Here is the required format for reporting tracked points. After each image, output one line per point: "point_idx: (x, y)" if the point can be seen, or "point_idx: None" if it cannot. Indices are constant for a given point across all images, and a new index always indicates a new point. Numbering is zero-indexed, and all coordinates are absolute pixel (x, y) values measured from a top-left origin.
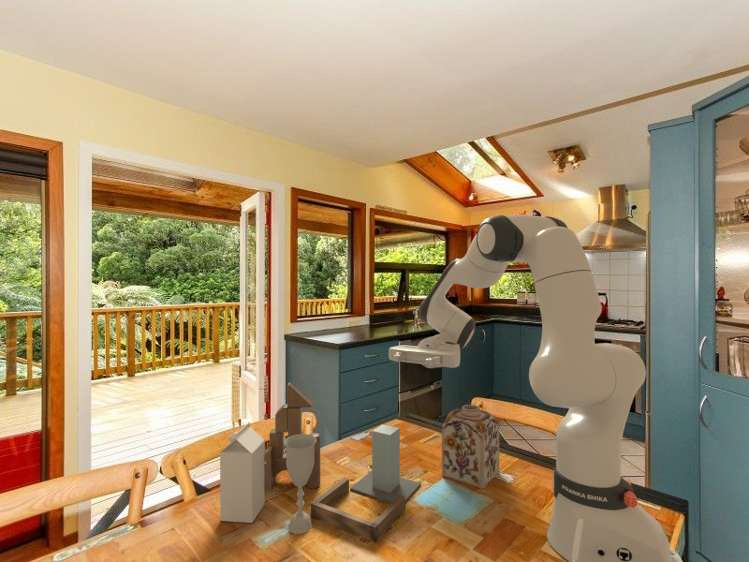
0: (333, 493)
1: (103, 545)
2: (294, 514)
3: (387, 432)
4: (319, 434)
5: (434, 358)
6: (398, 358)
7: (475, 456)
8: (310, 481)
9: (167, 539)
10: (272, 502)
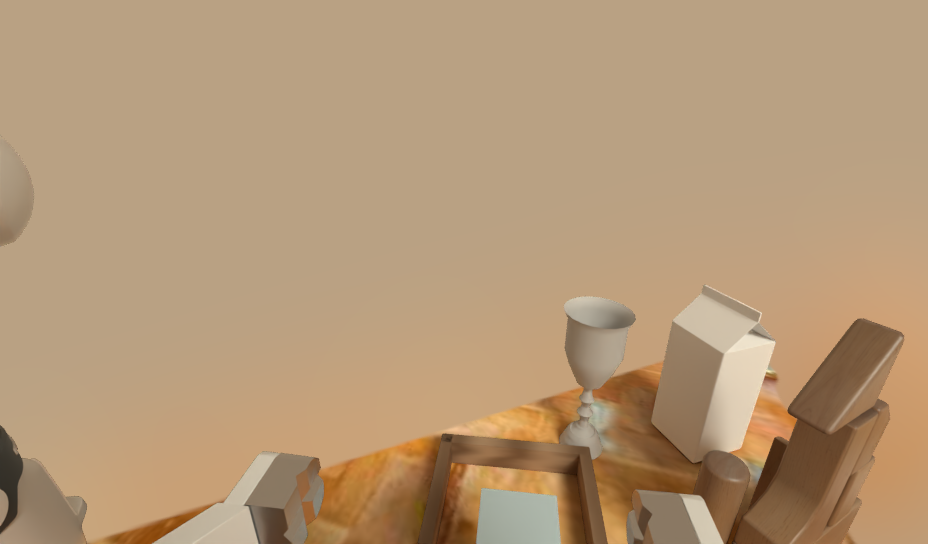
0: (585, 503)
1: None
2: (594, 428)
3: (499, 502)
4: (720, 475)
5: (209, 509)
6: (632, 501)
7: None
8: None
9: None
10: (690, 476)
